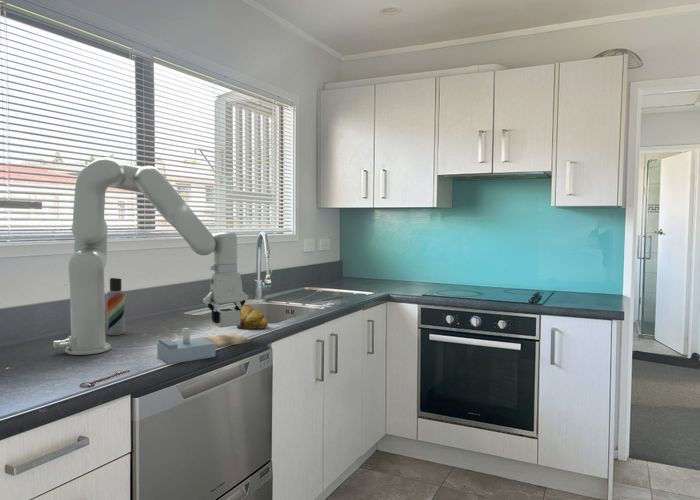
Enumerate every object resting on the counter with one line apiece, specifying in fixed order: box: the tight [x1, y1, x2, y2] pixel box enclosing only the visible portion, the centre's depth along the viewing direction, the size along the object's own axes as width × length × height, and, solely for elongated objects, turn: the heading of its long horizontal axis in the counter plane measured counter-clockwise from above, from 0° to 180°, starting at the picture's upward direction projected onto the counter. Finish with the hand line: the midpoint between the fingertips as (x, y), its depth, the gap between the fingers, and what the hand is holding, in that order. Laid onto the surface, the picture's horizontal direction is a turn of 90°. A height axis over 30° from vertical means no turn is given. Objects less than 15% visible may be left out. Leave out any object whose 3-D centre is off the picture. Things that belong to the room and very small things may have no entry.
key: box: [79, 369, 131, 388], centre depth 136 cm, size 6×1×15 cm
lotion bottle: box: [106, 277, 126, 336], centre depth 187 cm, size 6×6×20 cm
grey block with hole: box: [211, 307, 240, 329], centre depth 179 cm, size 7×7×5 cm
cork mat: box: [203, 333, 251, 348], centre depth 179 cm, size 12×12×1 cm
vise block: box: [156, 327, 216, 365], centre depth 158 cm, size 14×10×8 cm
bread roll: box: [236, 304, 269, 330], centre depth 202 cm, size 13×10×8 cm
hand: (226, 320), depth 179 cm, fingers closed on grey block with hole, 7 cm apart
